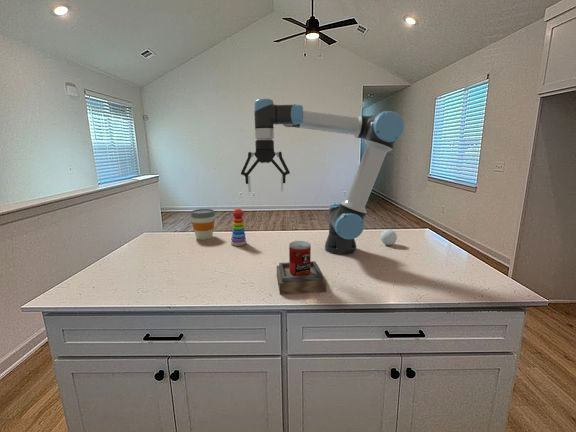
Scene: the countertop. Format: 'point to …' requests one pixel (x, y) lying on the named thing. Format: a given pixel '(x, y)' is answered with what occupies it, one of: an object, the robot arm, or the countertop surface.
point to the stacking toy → (238, 229)
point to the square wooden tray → (300, 280)
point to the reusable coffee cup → (203, 223)
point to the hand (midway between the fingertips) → (265, 191)
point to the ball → (388, 237)
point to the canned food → (299, 258)
